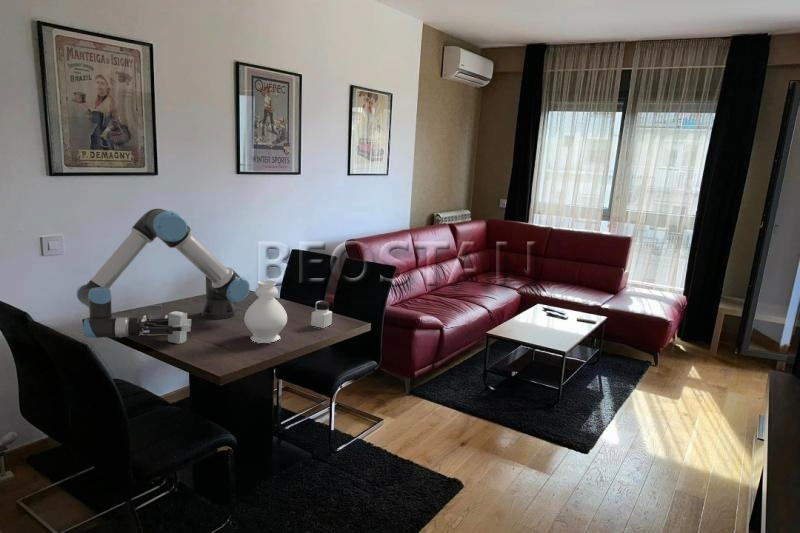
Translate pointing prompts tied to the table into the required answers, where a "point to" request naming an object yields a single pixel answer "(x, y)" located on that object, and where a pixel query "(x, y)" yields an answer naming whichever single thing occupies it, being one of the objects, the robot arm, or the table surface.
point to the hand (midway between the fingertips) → (190, 325)
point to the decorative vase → (265, 314)
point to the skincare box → (177, 319)
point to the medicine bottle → (321, 315)
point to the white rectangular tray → (151, 334)
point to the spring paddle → (155, 311)
